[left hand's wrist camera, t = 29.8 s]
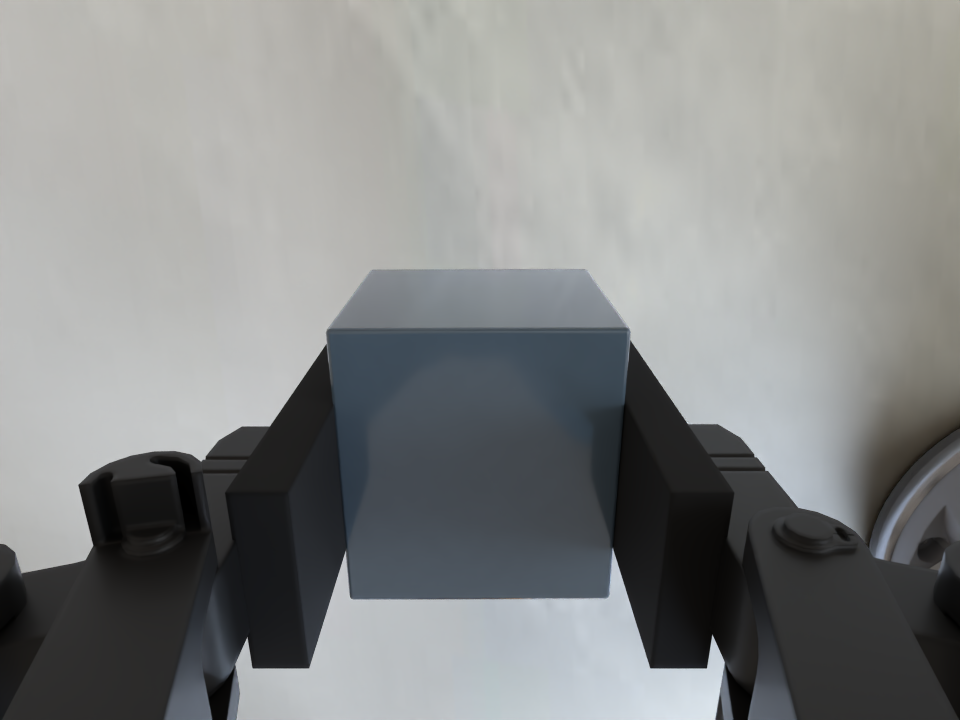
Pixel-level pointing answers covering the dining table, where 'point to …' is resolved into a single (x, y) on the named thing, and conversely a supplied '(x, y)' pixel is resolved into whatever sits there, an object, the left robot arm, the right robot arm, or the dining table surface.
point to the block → (479, 433)
